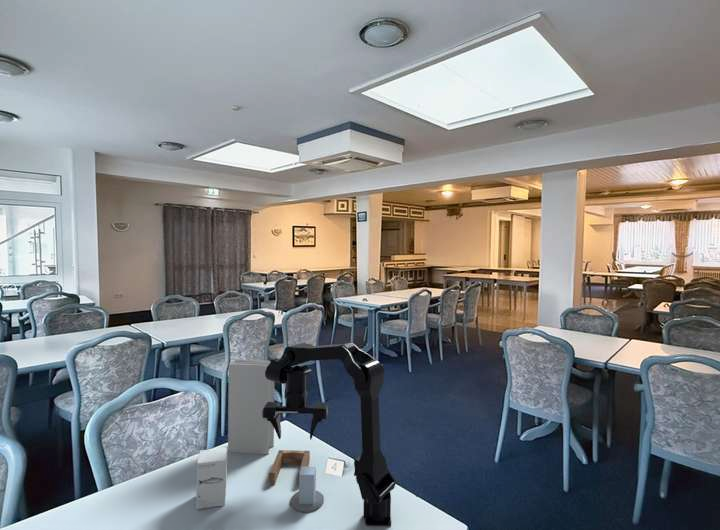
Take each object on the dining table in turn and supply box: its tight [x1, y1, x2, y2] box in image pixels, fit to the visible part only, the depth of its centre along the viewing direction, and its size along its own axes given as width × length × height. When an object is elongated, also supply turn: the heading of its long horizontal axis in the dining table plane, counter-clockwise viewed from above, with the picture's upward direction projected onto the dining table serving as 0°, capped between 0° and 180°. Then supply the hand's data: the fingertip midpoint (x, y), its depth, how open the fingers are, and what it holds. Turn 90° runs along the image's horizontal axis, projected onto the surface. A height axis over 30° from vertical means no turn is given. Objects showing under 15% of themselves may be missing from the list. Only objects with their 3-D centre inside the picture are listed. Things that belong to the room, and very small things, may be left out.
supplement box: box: [195, 447, 228, 511], centre depth 106 cm, size 7×7×13 cm
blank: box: [298, 466, 317, 504], centre depth 106 cm, size 4×4×8 cm
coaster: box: [290, 490, 325, 513], centre depth 107 cm, size 9×9×1 cm
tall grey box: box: [227, 359, 275, 455], centre depth 134 cm, size 14×6×30 cm, turn 84°
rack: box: [269, 449, 311, 486], centre depth 120 cm, size 10×13×4 cm
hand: (295, 438), depth 116 cm, fingers open, 9 cm apart
